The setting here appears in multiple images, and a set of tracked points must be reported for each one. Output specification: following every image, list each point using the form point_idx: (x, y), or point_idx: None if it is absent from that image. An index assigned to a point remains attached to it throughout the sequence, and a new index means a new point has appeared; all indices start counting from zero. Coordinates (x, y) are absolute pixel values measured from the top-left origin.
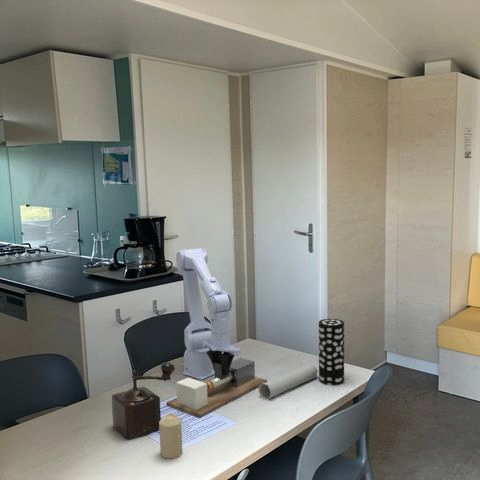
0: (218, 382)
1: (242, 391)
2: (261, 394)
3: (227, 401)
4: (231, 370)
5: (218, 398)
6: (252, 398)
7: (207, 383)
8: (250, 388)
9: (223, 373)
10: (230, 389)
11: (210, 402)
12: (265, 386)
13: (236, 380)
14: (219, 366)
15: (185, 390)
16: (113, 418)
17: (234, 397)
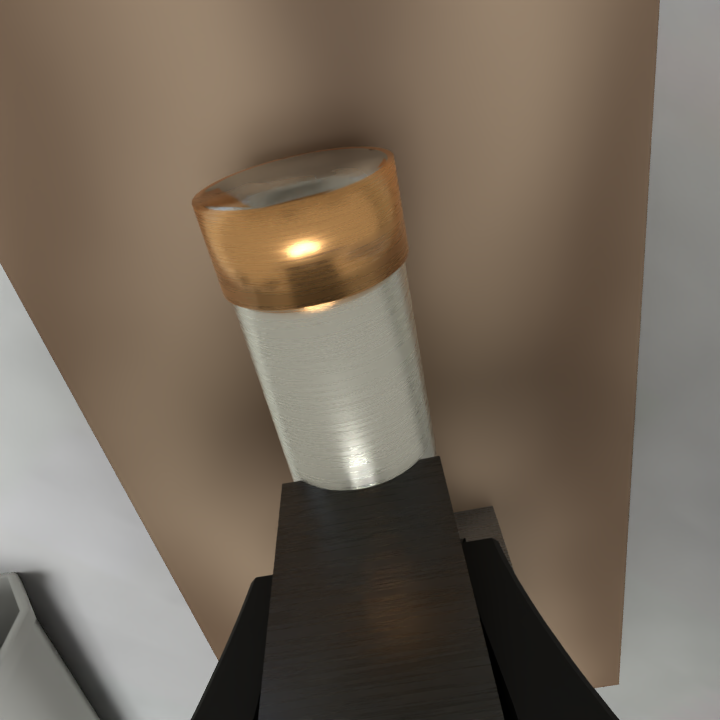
0: (271, 412)
1: (165, 524)
2: (17, 598)
3: (17, 275)
4: None
5: (135, 226)
6: (33, 513)
7: (261, 203)
8: (187, 599)
9: (260, 599)
10: None
11: (59, 37)
12: (38, 693)
13: None
14: (315, 710)
15: None
16: None
17: (80, 395)
